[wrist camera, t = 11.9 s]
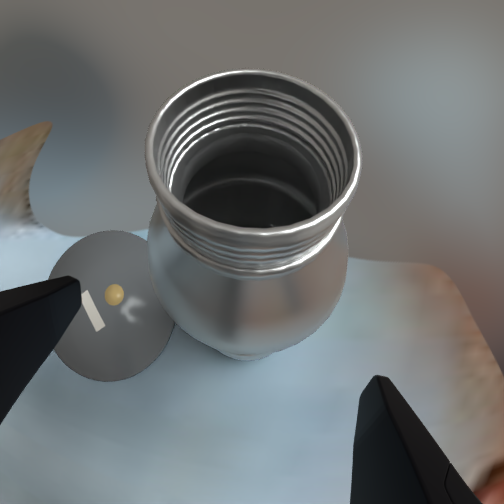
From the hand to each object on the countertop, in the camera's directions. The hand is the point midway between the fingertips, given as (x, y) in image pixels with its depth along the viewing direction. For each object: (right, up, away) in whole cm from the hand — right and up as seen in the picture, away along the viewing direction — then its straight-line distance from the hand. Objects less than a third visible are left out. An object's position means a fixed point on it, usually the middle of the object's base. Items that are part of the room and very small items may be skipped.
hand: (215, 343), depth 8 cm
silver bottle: (+1, -3, +16) cm, 16 cm away
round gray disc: (-11, -2, +15) cm, 19 cm away
